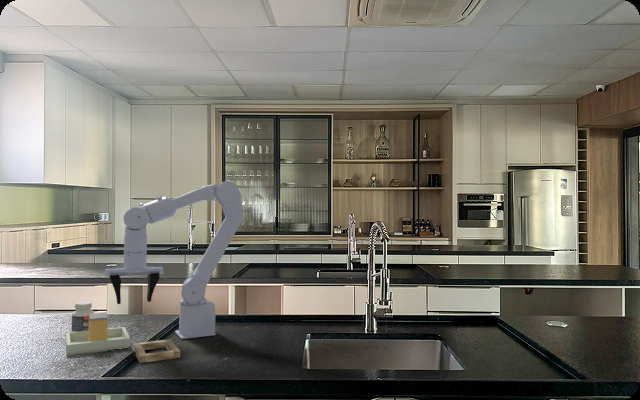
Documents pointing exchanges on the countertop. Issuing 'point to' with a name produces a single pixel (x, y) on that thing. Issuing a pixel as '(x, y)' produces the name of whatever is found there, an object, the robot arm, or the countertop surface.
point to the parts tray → (80, 344)
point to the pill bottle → (81, 316)
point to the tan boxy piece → (97, 327)
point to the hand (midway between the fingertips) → (134, 302)
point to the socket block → (143, 357)
